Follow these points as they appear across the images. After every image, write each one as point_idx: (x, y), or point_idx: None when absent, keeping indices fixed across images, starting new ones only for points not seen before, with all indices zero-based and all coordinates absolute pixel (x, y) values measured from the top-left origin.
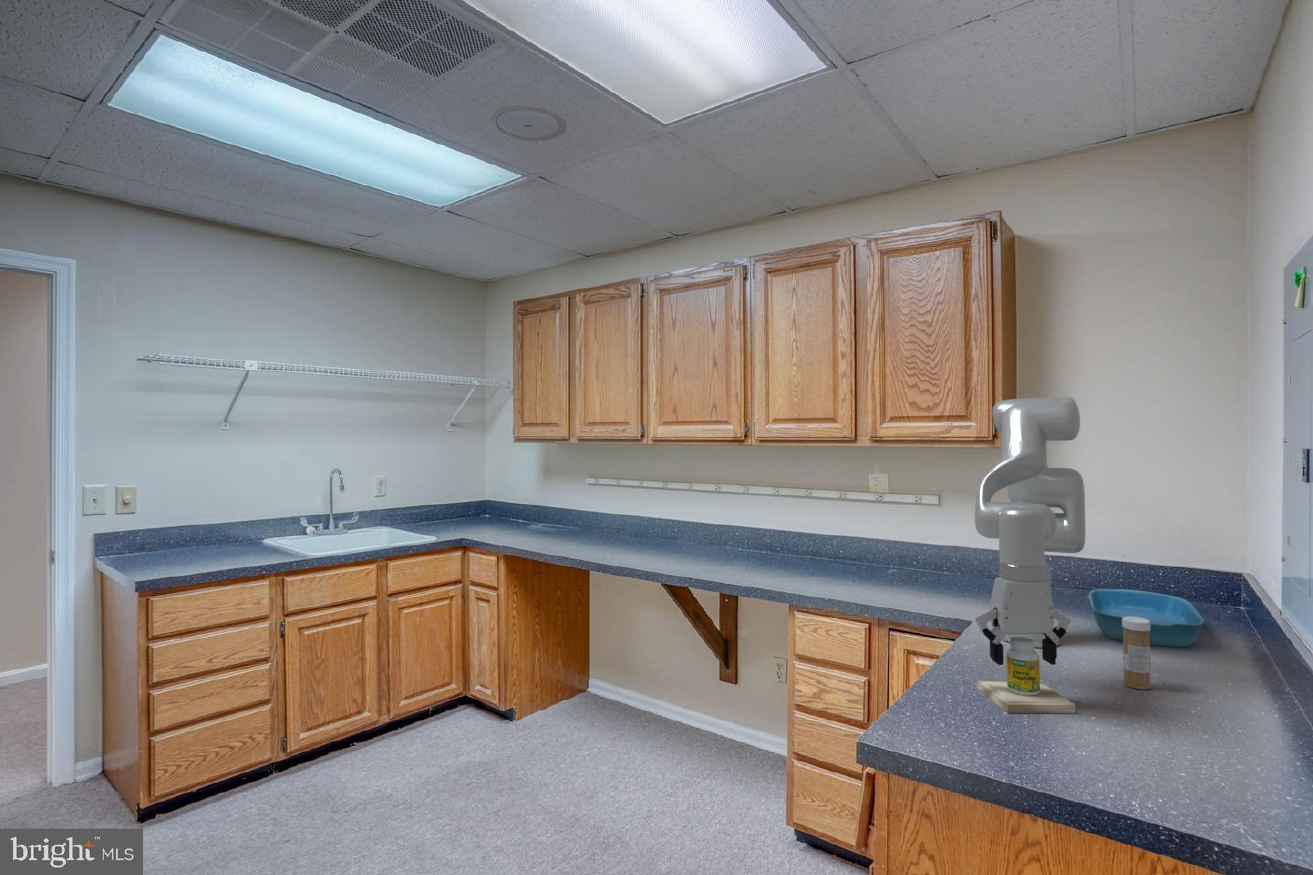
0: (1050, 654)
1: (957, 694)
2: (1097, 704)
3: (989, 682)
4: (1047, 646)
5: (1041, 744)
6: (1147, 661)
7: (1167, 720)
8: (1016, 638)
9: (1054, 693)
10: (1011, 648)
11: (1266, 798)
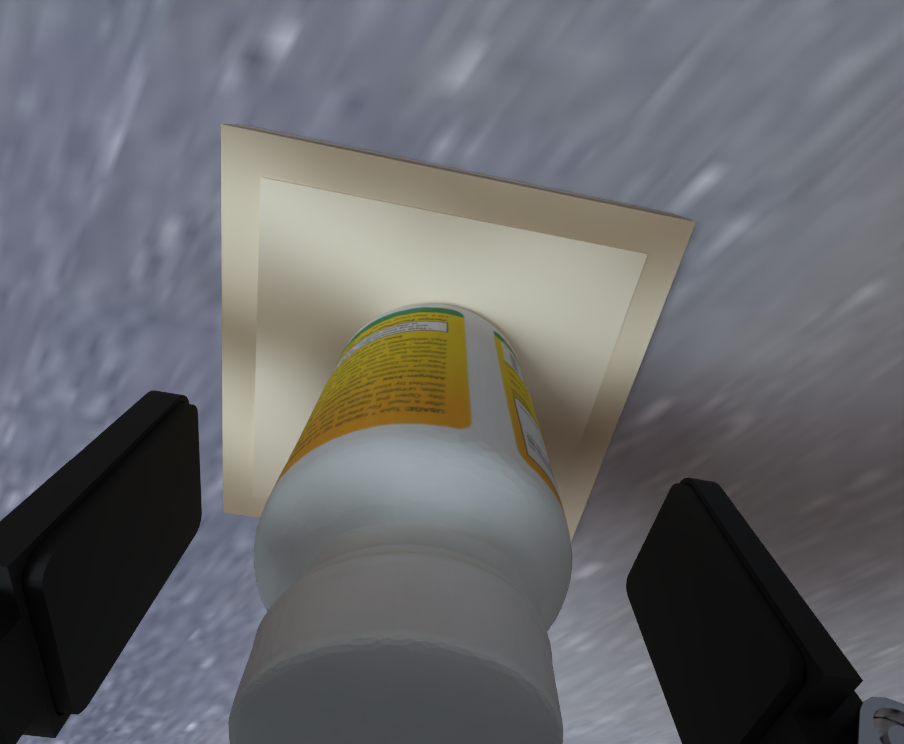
0: (656, 657)
1: (55, 212)
2: (755, 472)
3: (290, 206)
4: (710, 690)
5: (219, 687)
6: None
7: (845, 625)
8: (349, 704)
9: (592, 434)
10: (319, 542)
11: None
